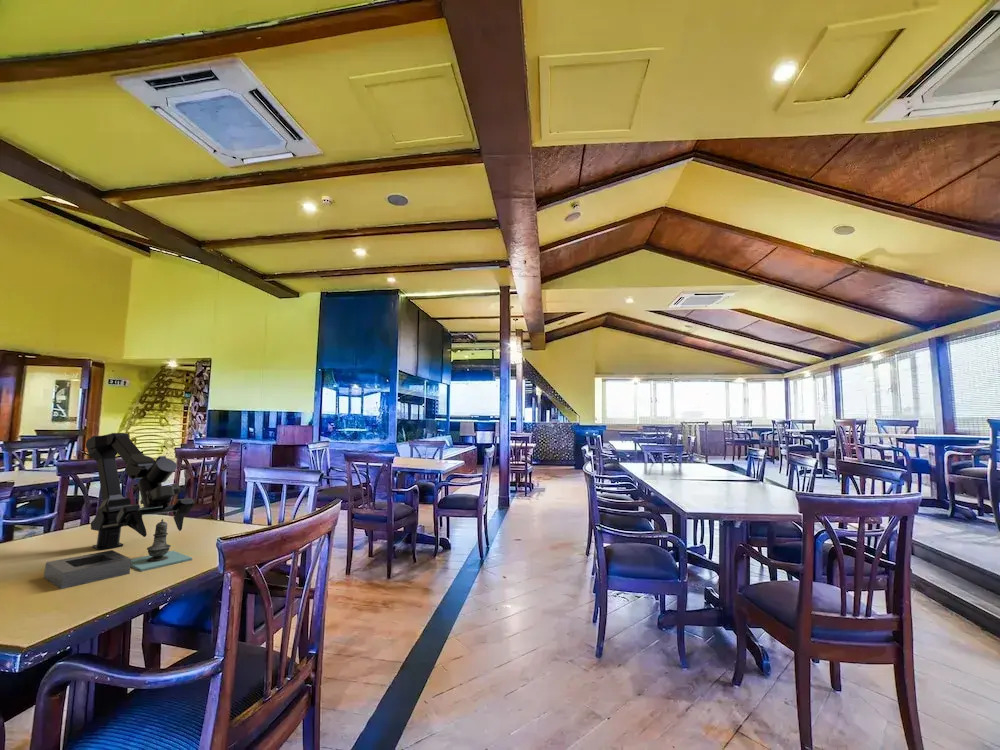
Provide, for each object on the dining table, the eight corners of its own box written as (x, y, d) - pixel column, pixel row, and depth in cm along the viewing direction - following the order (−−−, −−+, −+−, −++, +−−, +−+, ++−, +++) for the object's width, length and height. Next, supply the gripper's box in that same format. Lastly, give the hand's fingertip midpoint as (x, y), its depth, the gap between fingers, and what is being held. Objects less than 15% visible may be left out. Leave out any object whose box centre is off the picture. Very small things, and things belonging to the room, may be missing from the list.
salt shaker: (140, 561, 129) (145, 520, 130) (157, 555, 135) (161, 516, 136) (158, 562, 129) (163, 521, 130) (174, 556, 134) (179, 517, 136)
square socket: (43, 577, 116) (46, 562, 117) (110, 563, 128) (112, 550, 129) (60, 589, 109) (63, 572, 109) (129, 573, 121) (131, 558, 121)
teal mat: (122, 562, 129) (123, 560, 130) (172, 552, 141) (173, 550, 141) (141, 571, 123) (141, 569, 123) (192, 559, 134) (192, 557, 134)
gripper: (125, 478, 129) (136, 521, 122) (194, 473, 144) (208, 511, 138) (111, 502, 132) (121, 545, 125) (181, 494, 148) (193, 533, 141)
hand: (163, 532), depth 132 cm, fingers open, 9 cm apart
